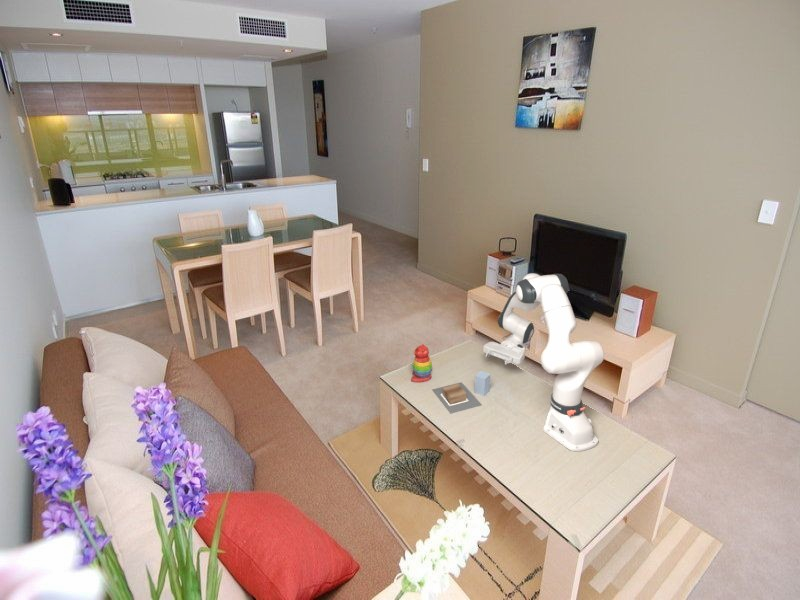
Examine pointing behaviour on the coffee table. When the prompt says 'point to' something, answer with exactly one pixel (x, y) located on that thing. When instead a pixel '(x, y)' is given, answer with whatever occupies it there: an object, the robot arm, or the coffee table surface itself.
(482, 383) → the pillar
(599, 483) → the coffee table surface
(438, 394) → the build mat
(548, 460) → the coffee table surface
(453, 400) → the base block
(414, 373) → the stacking bear
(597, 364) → the robot arm
